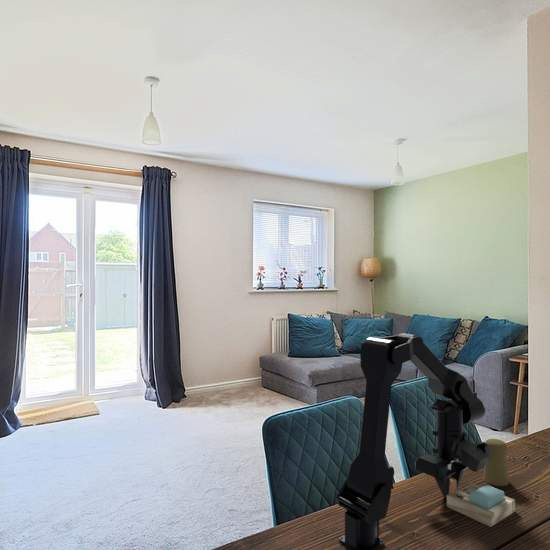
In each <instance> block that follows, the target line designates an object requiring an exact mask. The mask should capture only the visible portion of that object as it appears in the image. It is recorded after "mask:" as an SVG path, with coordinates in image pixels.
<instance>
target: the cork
mask: <svg viewBox="0 0 550 550" xmlns="http://www.w3.org/2000/svg"><path fill="white" fill-rule="evenodd" d="M484 442H485V443H487V444H488V445H489V448H490V457H491V459H490V460H488V461H487V462H486V465H485V467H484V468H483V469H484V470H483V476H482V480H483V481H484V482H486V483H487V484H490V485H492V486H495V487H506V486H508V485H509V484H510V482H509V474H508V467H507V462H506V461H507V460H506V455H507V454H508V446H507V444H506V442H505V441H504V440H501V439H497V438H489V439H488V438H487V439H486V440H485V441H484Z"/></svg>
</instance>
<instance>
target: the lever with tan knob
mask: <svg viewBox="0 0 550 550" xmlns="http://www.w3.org/2000/svg"><path fill="white" fill-rule="evenodd" d="M448 494H452V495H454V496H457V495H459V496H462V498H463V497H466V498H468V499H470V502H471V503H473V504H475V505H477V506H480V507H482V508H484V509H487V510H489V509H491V508H493V507H494V506H496V505H498V504H499V503H501V502H503V501H504V496H505V491H504V490H501V489H498V488H495V487H493V486H491V485H488V484H485V485H483V486H481V488H479V489H477V490H476V491H474V492H472V493H470V495H469V493H468V492H465V491H462V490H460V489H457V480H456V479H455V478H453V477H450V485H449V493H448ZM443 497H445V496H443ZM457 497H458V496H457ZM445 499H447V497H445Z"/></svg>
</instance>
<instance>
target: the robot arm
mask: <svg viewBox="0 0 550 550" xmlns="http://www.w3.org/2000/svg"><path fill="white" fill-rule="evenodd" d="M359 351H360V352H359V354H360V355H359V356H360V360H359V361H360V368H361V370H362V373H363V376H364V378H365V382H366V384H365V392H364V403H363V413H362V420H361V421H362V422H361V424H362V425H361V431H360V433H361V434H360V442H359V452H358V453H357V455H356V457H355V458H354V459H353V460H352V462H351V463H350V466H349V469H348V474H347V478H346V479H345V481H344V482H343V484H342V486H341V488H340V489H339V491H338V493H337V494H336V497H335V498H336V501H337V505H338V507H341V508H343V509H344V510H346V511H344V534H343V535H341V536H339V537H338V540H339V541H338V542H341V543H342V544H343V545H345V546H346V547H348V548H350V549H351V550H378V549H380V548H381V547H383V546H385V545H386V543H385V540H383V538H380V521H381V520H382V519H384V518H386V517H387V513H388V509H389V505H390V499H391V495H392V490H394V484H393V483H394V475H395V468H394V467H393V466H391V465H389V464H388V463H387V460H386V446H387V445H386V443H387V435H388V425H389V416H390V415H389V413H390V406H391V405H390V404H391V393H392V387H393V384H394V382H395V381H396V380H397V378H398V377H399V375H401V372H402V369H403V368H402V367H403V364H404V363H406V362H411V363H412V364H413V365H414V367H416V368H417V370H418V371H419V372H421V374H423V375H424V376H425V378H426V379H427V386H428V388H429V389H430V390H431V392H432V393H433V394H434V395H435V396H436V397H437V396H438V397H440V398H444V399H445V398H446V400H444V399H440V398H437V399H436V401H435V402H434V403H433V404H432V405H431V406H430V408H431V410H433V411H436V429H433V430H432V436H435V437H436V446H435V447H432V453H434V454H436V455H437V456H434V455H432V454H429V453H426V454H423V455H421V456H418V457H417V458H416V459H414V469H415V470H416V471H418V472H421V473H423V474H425V475H429V477H433V478H434V480H435V482H436V484H437V485H438V487H439V491H440V492H441V495H442V496H443V497H444V496H445V498H446V497H447V495H448V493H449V485H450V477H453V478H455V479H456V480H457V490H459V486H460V482H461V479H462V476H463V475H464V471H465V470H466V469H468V470H470V471H472V472H474V473H477V472H479V471H480V470H482V469H484V468H485V465H486V462H487V461H488V460H490V459H491V457H490V448H489V445H488V444H487V443H485V441H482V442H480V443H478V444H476V443H475V442H470V441H469V435H468V433H467V432H465V431H464V429H463V426H464V424H469V423H472V422H475V421H478V420H481V419H482V418H483V417H484V415H485V413H486V408H485V406H484V403H483V401H482V400H481V399H480V398H479V397H478V393H477V392H475V391H472V389H471V388H470V385H469V383H468V380H467V378H466V377H465V376H463V375H462V374H461V373H459V372H458V371H455V370H453V369H451V368H449V367H448V366H446V365H445V364H444V363H443V362H442V361H441V360H440V359H439V358H438V357H437V356H436V355H435V353H434V352H433V351H432V350H431V349H430V348H429V347H428V346H427V345H426V344H425V342H424V340H423V338H422V337H421V336H419V335H417V334H411V333H403V332H402V333H397V334H395V335H390V336H383V337H374V336H370V337H368V338H366V339H365V341H364V342H362V343H361V345H360V349H359Z"/></svg>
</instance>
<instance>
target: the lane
mask: <svg viewBox="0 0 550 550" xmlns="http://www.w3.org/2000/svg"><path fill="white" fill-rule="evenodd" d="M481 487H482V486H481V485H478V484H476V483H474V482H470V483H468V494H469V495H470V493H472V492H474V491H476V490H477V489H479V488H481ZM446 507H447V508H449V509H451V510H453V511H455V512H458V513H460V514H462V515H464V516H466V517H469V518H471V519H472V520H475V521H477V522H479V523H481V524H484V525H485V526H488V527H491V528H492V527H493V526H494V525H496V524H498V523H499V522H501V521H503V520H504V519H506V518H507V517H508V516H510V515H512V514H514V513H515V512H516V499H514V498H511V497H510V496H506V495H504V501H503V502H501V503H499V504H498V505H496V506H494V507H493V508H491V509H489V510H487V509H484V508H482V507H480V506H477V505H475V504H473V503H471V502H470V499H468V498H466V497H463V496H462V498H461V497H458V496H454V495H452V494H448V495H447V498H446Z"/></svg>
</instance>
